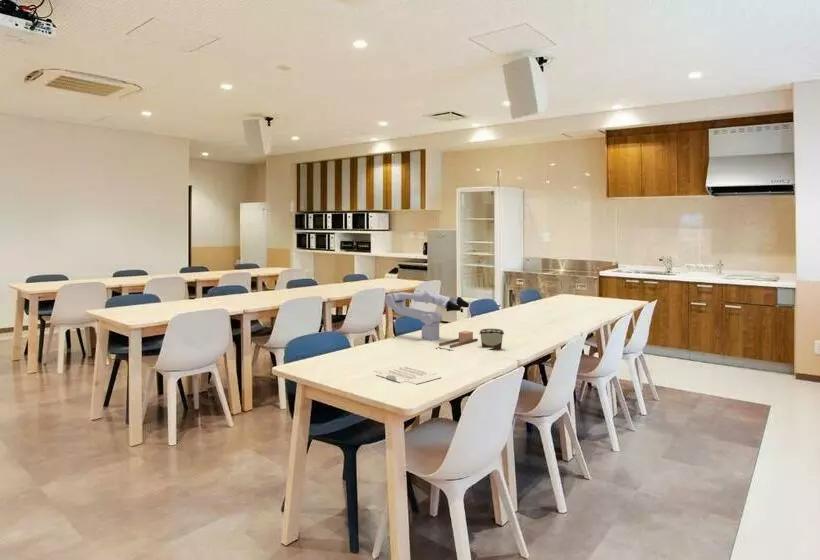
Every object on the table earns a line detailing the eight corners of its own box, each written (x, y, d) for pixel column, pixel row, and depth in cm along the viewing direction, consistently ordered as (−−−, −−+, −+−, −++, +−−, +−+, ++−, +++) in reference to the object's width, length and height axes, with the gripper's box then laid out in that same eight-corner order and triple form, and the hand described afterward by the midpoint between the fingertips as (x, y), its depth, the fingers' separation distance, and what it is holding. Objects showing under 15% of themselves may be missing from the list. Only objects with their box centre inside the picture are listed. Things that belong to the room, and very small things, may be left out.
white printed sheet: (403, 365, 242) (403, 357, 242) (447, 380, 221) (447, 371, 221) (367, 374, 229) (367, 365, 228) (410, 390, 208) (410, 381, 207)
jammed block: (458, 341, 283) (458, 332, 282) (465, 339, 287) (465, 330, 287) (465, 342, 279) (465, 333, 279) (472, 341, 284) (472, 331, 283)
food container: (503, 347, 273) (503, 328, 272) (504, 350, 267) (504, 330, 266) (478, 347, 275) (478, 328, 274) (479, 350, 269) (479, 330, 268)
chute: (437, 347, 275) (437, 343, 274) (464, 341, 290) (464, 336, 290) (452, 350, 268) (452, 345, 267) (479, 343, 284) (479, 338, 283)
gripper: (435, 296, 278) (457, 302, 270) (451, 291, 289) (472, 296, 281) (434, 309, 280) (456, 315, 272) (450, 303, 291) (471, 309, 283)
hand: (464, 307), depth 277 cm, fingers open, 7 cm apart
